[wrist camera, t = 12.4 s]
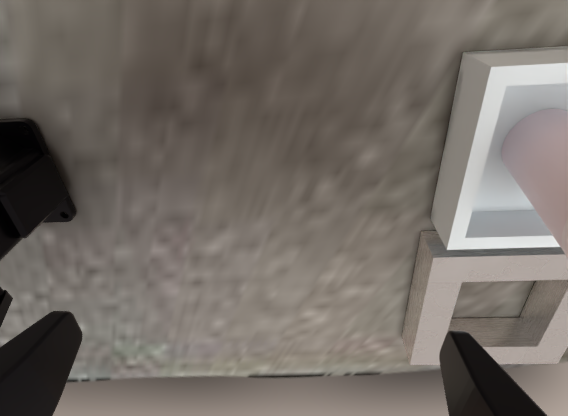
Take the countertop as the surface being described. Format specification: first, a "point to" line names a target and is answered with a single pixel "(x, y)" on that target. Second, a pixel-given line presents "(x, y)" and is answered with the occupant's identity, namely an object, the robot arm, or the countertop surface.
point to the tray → (494, 148)
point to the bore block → (487, 331)
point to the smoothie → (542, 167)
